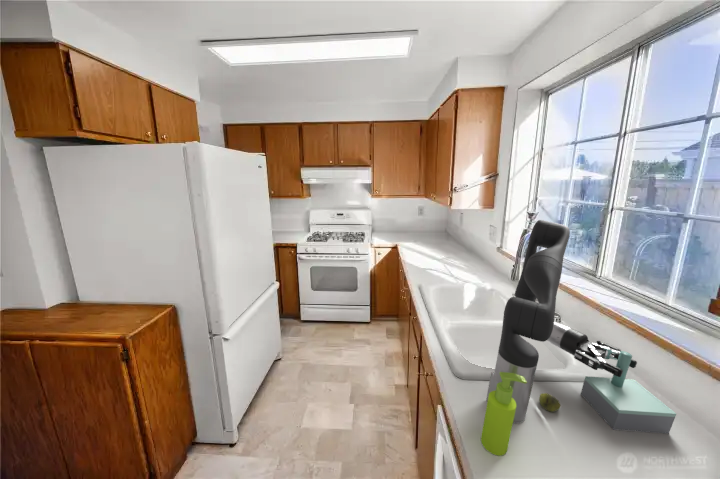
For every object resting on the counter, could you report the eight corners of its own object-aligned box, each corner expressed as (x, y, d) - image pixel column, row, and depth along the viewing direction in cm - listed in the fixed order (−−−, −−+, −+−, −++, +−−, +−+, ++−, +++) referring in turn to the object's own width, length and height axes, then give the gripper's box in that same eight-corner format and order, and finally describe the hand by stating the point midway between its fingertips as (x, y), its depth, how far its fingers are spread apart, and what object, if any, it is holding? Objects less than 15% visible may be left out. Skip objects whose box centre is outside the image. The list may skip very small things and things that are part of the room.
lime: (535, 401, 83) (538, 387, 81) (553, 404, 82) (557, 390, 80) (541, 414, 78) (545, 399, 77) (561, 417, 77) (565, 402, 76)
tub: (612, 431, 74) (618, 413, 72) (579, 395, 85) (584, 379, 84) (667, 435, 73) (675, 417, 72) (627, 399, 85) (633, 382, 83)
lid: (617, 416, 72) (630, 376, 70) (583, 382, 84) (593, 346, 81) (674, 420, 72) (689, 380, 69) (632, 385, 84) (643, 349, 81)
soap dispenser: (515, 459, 66) (531, 387, 61) (483, 452, 67) (496, 381, 62) (507, 436, 71) (521, 369, 66) (478, 430, 73) (490, 364, 68)
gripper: (555, 333, 88) (620, 365, 74) (579, 323, 94) (643, 351, 81) (550, 353, 90) (613, 389, 76) (574, 342, 96) (636, 373, 82)
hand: (629, 369), depth 78 cm, fingers open, 8 cm apart
